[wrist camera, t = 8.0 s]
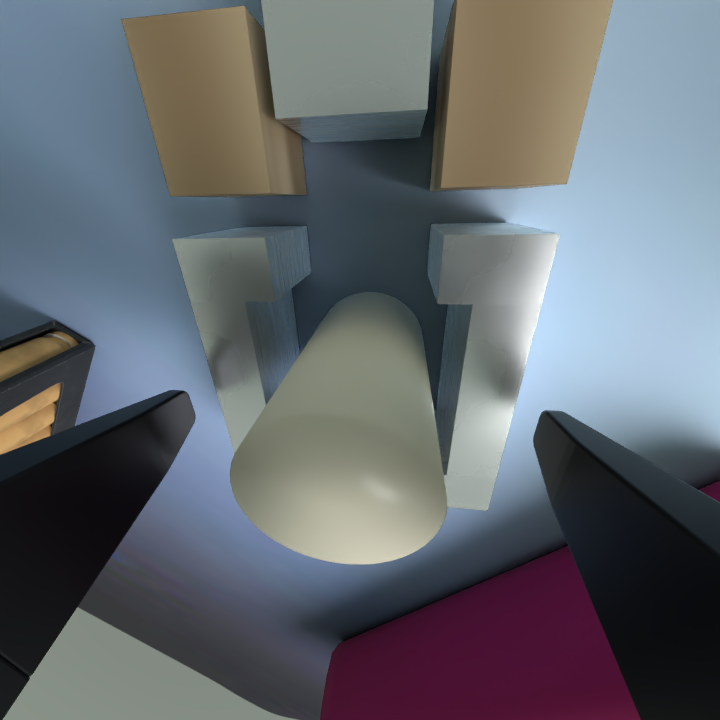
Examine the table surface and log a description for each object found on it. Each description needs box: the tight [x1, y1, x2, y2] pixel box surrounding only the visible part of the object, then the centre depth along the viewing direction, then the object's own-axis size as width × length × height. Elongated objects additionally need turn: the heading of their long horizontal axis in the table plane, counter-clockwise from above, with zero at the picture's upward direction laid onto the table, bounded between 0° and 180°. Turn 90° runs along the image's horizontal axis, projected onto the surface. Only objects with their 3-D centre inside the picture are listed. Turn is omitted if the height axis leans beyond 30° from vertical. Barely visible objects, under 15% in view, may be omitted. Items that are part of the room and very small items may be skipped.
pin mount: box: [121, 0, 613, 197], centre depth 7 cm, size 9×3×3 cm, turn 91°
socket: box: [172, 223, 560, 511], centre depth 10 cm, size 9×9×4 cm
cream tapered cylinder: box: [230, 292, 447, 564], centre depth 9 cm, size 4×4×7 cm
